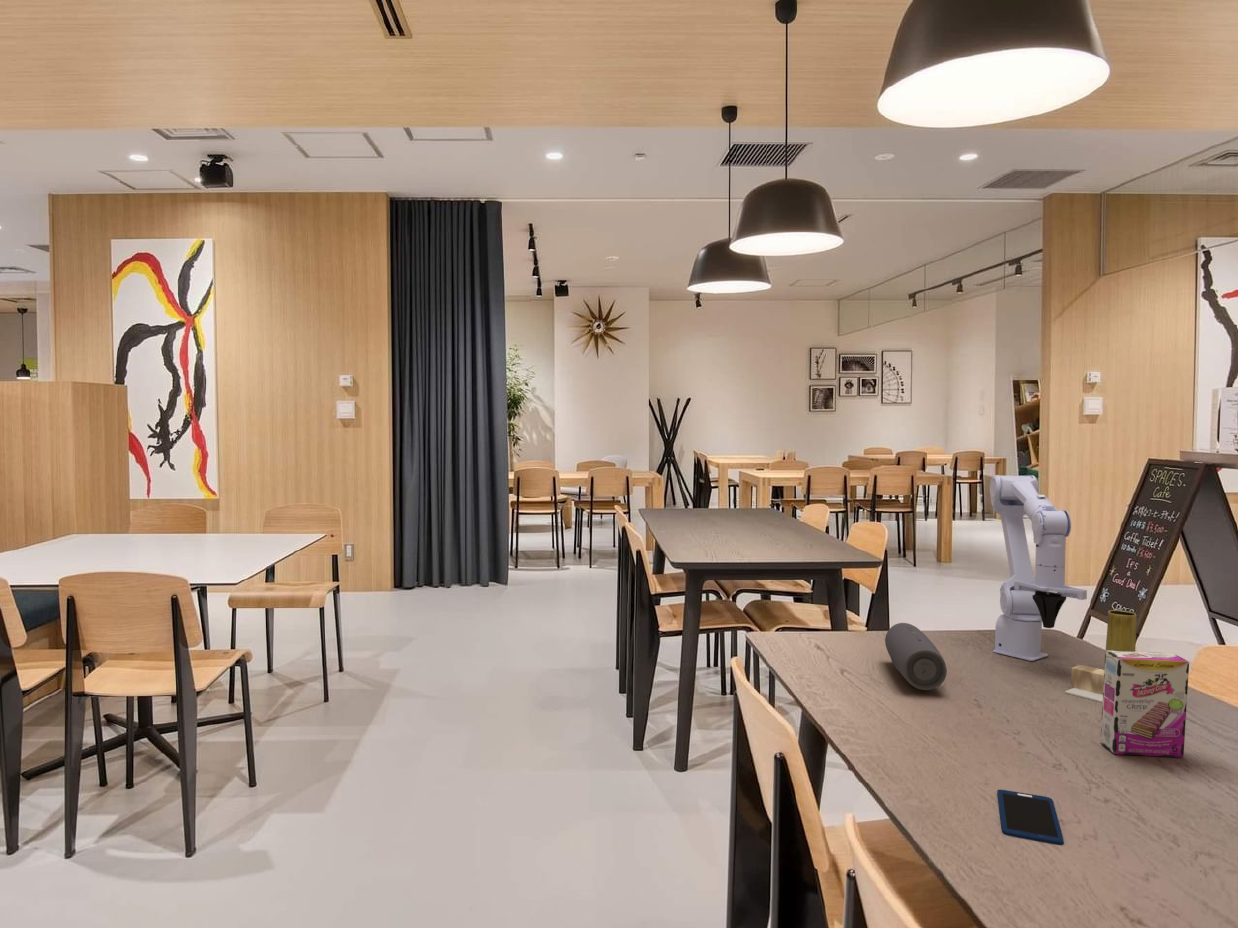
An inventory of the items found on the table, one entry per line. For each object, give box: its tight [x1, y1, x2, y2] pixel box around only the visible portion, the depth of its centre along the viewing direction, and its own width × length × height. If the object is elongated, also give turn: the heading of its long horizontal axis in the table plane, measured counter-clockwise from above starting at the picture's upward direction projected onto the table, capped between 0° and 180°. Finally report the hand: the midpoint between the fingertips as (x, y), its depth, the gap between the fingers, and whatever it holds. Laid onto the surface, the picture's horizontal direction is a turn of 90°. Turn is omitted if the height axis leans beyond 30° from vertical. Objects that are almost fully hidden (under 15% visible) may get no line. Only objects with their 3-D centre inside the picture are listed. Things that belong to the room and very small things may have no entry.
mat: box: [1064, 687, 1103, 704], centre depth 163 cm, size 9×12×1 cm
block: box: [1070, 664, 1104, 695], centre depth 163 cm, size 4×4×8 cm
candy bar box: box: [1100, 650, 1190, 758], centre depth 133 cm, size 11×5×16 cm, turn 84°
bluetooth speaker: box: [884, 622, 948, 691], centre depth 171 cm, size 23×9×10 cm, turn 171°
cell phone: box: [996, 789, 1064, 846], centre depth 111 cm, size 7×14×1 cm, turn 157°
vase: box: [1103, 609, 1137, 669], centre depth 172 cm, size 6×6×14 cm
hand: (1048, 627), depth 174 cm, fingers closed
